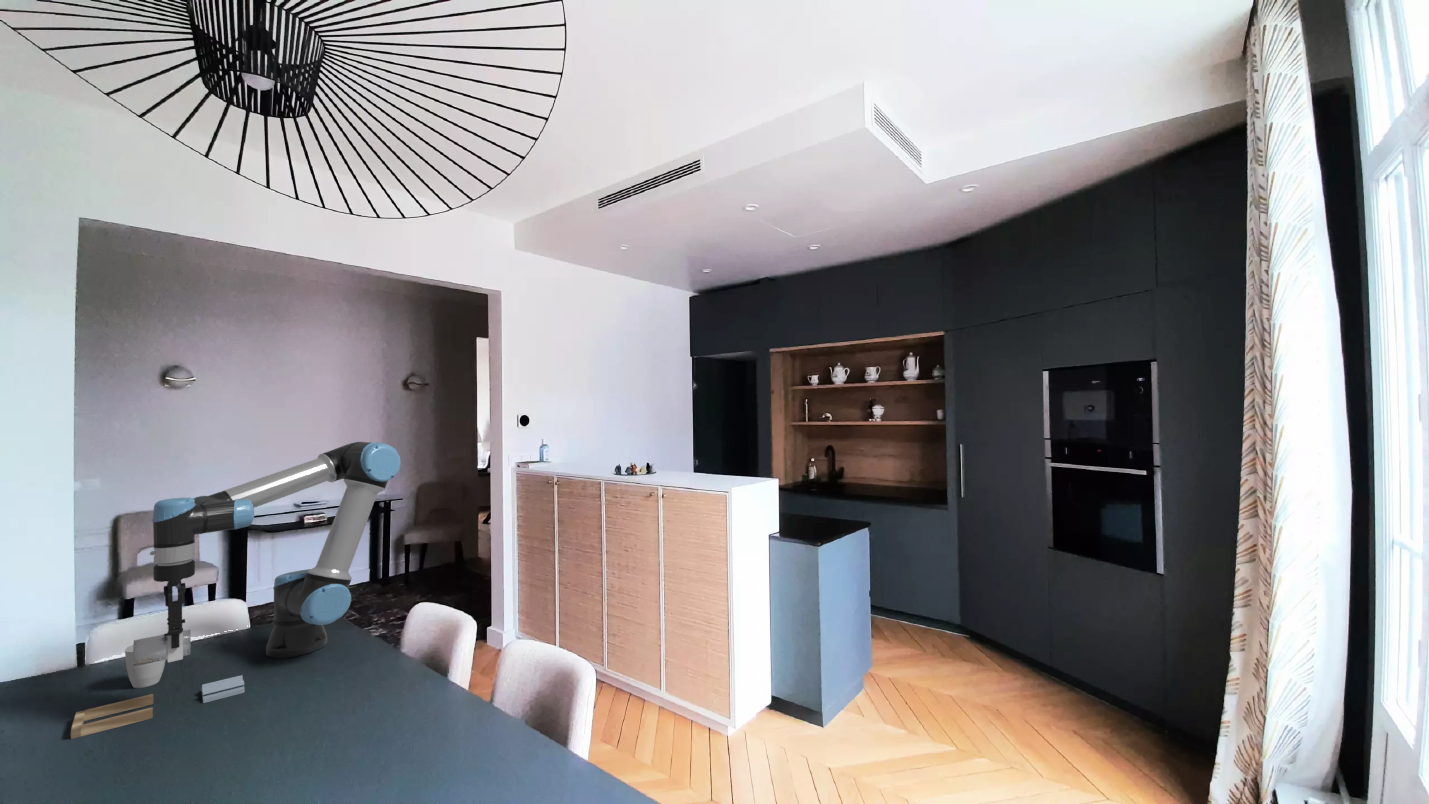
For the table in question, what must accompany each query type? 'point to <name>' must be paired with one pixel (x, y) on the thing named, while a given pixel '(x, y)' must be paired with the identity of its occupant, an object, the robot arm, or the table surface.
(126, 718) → the wooden flat frame
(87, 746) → the table surface
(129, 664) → the cup
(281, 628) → the robot arm
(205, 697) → the v block
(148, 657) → the grey metal cylinder
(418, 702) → the table surface
